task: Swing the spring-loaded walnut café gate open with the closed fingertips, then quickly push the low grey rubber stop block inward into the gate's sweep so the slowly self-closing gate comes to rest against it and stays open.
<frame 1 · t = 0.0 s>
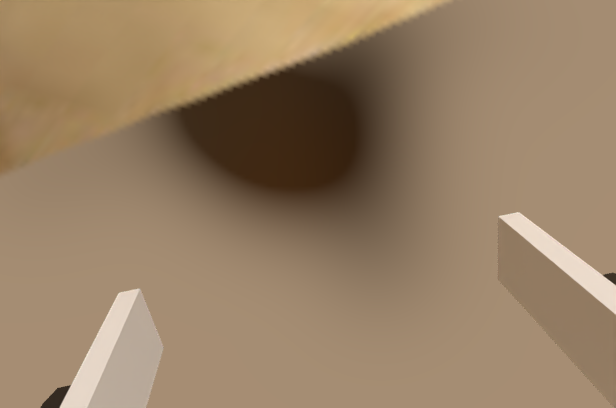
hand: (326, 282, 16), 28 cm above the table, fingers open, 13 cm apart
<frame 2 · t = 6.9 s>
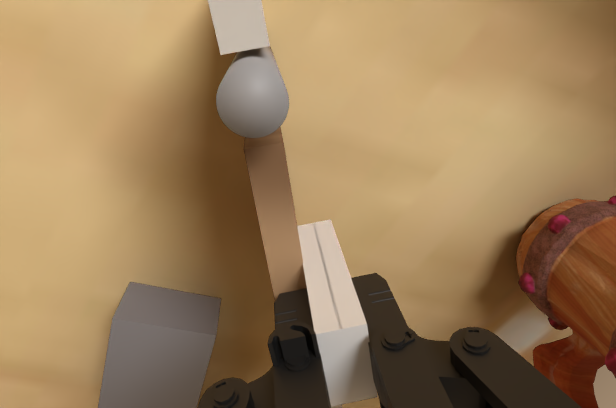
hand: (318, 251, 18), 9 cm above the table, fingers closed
stop block: (164, 345, 31), on the table
door: (298, 227, 21), point 6 cm above the table, hinge at -1.5°, touching gripper
doorframe: (255, 54, 24), on the table
mug: (537, 268, 32), on the table
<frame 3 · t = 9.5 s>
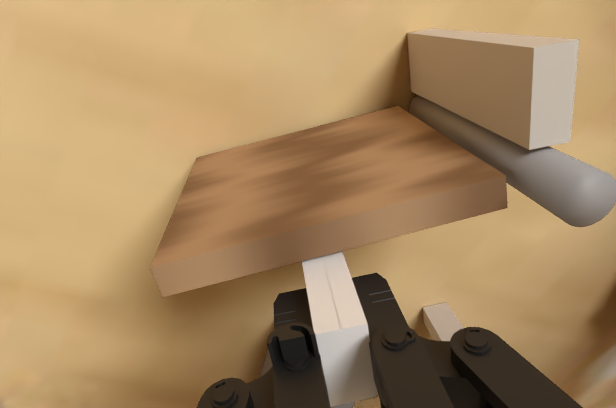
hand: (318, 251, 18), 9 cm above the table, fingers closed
door: (314, 189, 20), point 6 cm above the table, hinge at -86.3°, touching gripper
doorframe: (423, 107, 26), on the table
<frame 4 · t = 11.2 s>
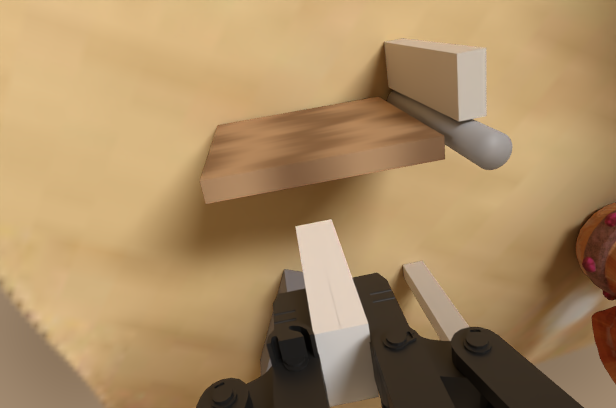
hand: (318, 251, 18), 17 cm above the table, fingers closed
stop block: (303, 318, 40), on the table
door: (311, 149, 27), point 6 cm above the table, hinge at -91.0°
doorframe: (398, 100, 33), on the table
mug: (589, 255, 41), on the table
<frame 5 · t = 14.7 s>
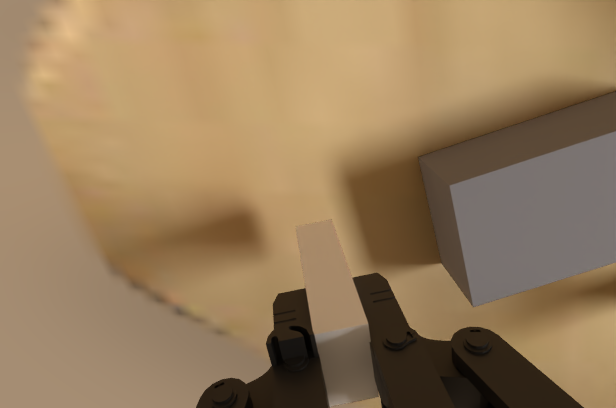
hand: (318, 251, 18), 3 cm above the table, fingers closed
stop block: (526, 178, 21), on the table
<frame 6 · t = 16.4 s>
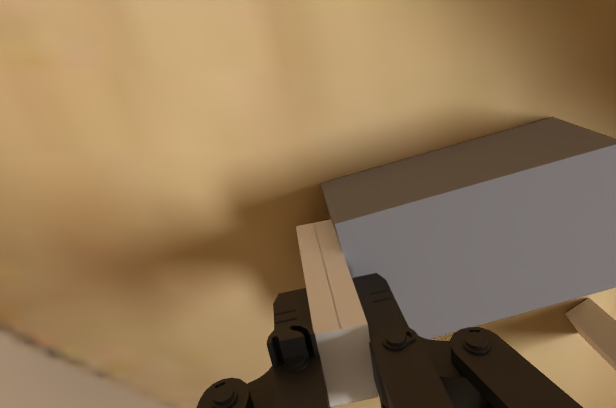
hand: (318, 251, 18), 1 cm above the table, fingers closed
stop block: (444, 212, 19), on the table, touching gripper
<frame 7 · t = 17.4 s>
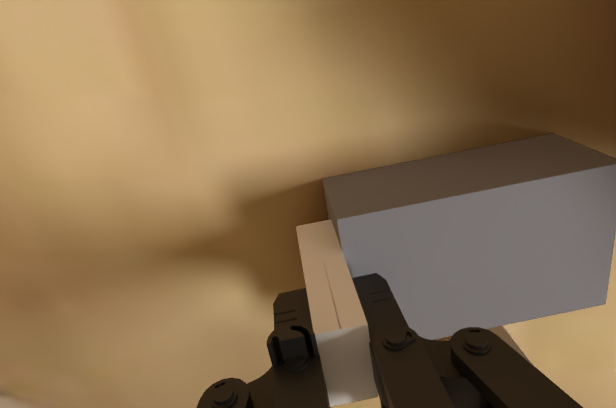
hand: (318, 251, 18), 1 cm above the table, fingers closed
stop block: (441, 218, 20), on the table, touching gripper
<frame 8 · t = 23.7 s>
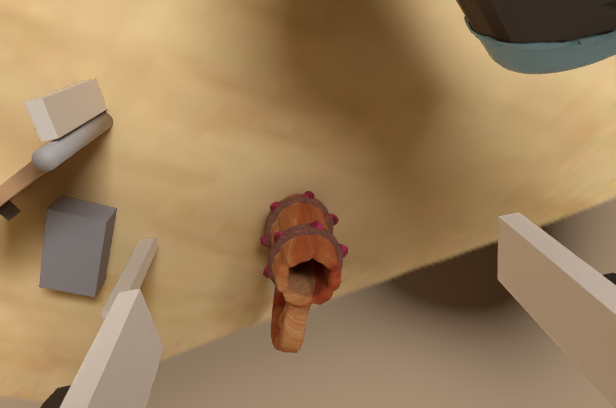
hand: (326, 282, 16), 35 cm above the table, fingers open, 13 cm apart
stop block: (85, 238, 52), on the table
door: (28, 186, 42), point 6 cm above the table, hinge at -65.2°
doorframe: (104, 120, 46), on the table
mug: (291, 235, 54), on the table
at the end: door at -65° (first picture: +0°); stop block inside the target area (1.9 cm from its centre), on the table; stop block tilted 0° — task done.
